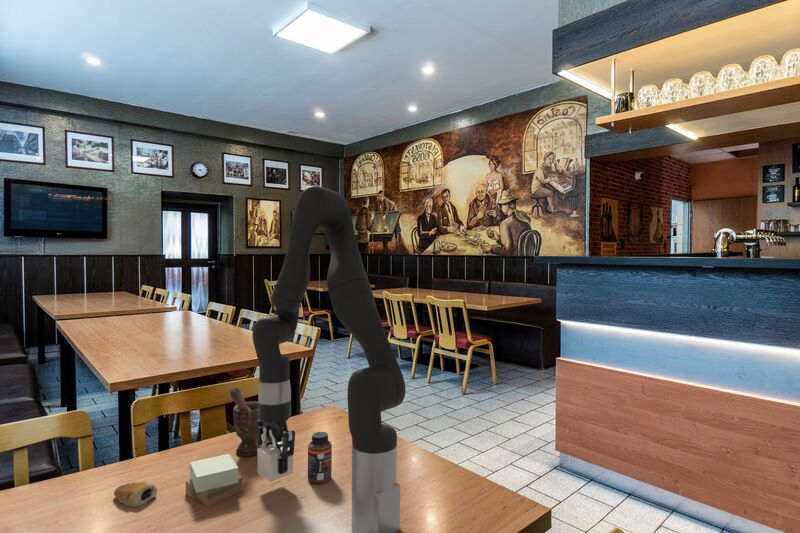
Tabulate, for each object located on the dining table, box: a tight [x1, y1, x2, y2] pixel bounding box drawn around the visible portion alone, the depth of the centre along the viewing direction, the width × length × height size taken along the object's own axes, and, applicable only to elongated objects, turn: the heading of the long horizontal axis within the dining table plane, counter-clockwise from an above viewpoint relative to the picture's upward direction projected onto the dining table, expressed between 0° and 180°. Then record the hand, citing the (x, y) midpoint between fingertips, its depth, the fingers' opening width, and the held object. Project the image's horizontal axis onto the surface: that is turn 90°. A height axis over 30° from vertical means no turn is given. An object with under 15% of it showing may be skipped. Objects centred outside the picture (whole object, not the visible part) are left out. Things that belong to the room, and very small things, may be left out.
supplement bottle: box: [307, 431, 333, 485], centre depth 117 cm, size 6×6×11 cm
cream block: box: [257, 441, 294, 482], centre depth 112 cm, size 6×6×6 cm
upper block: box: [189, 453, 239, 493], centre depth 110 cm, size 9×9×4 cm
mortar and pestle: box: [229, 387, 262, 458], centre depth 131 cm, size 12×9×20 cm
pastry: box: [113, 481, 158, 508], centre depth 107 cm, size 9×7×4 cm
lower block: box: [185, 475, 244, 507], centre depth 110 cm, size 9×9×4 cm
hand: (275, 468), depth 112 cm, fingers closed on cream block, 6 cm apart
